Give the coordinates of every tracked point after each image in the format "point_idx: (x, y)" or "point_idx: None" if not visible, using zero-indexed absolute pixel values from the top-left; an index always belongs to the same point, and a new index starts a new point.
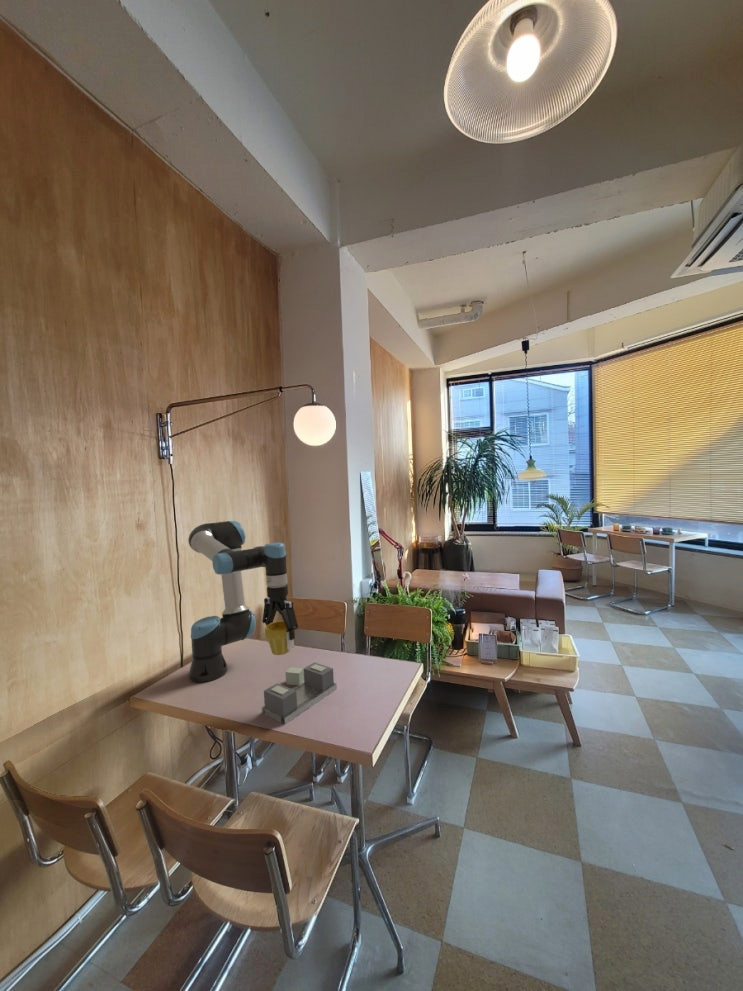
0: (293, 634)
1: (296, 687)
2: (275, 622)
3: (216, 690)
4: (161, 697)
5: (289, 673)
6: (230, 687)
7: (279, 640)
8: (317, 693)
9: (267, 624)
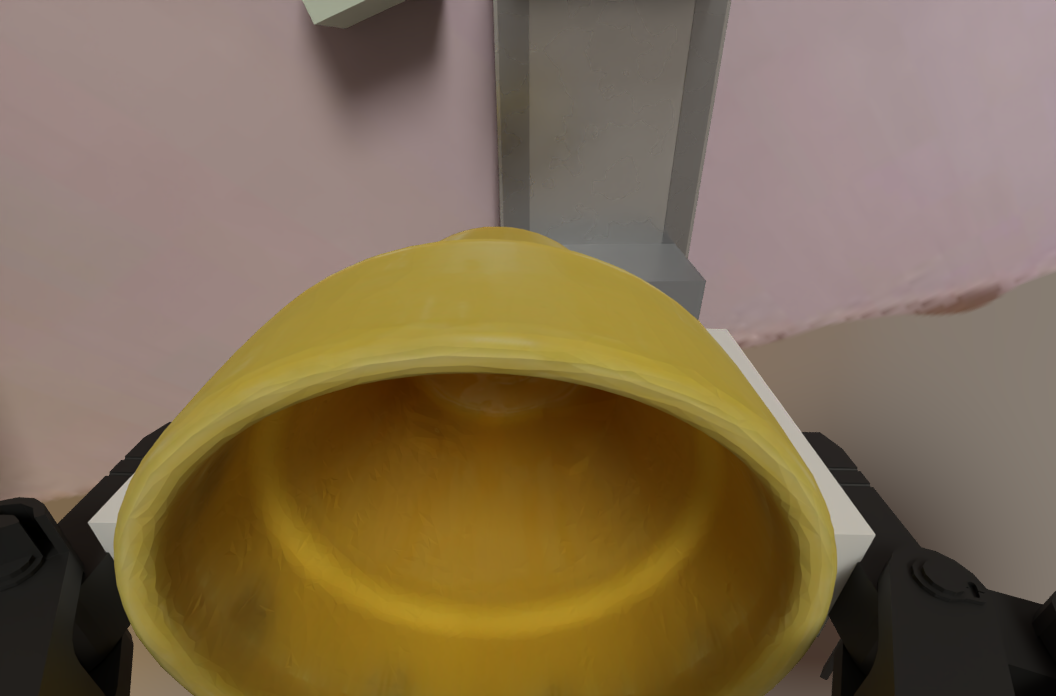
0: (872, 512)
1: (506, 78)
2: (151, 564)
3: (112, 327)
4: (20, 477)
5: (350, 8)
6: (126, 270)
7: (625, 546)
8: (696, 51)
9: (129, 657)
